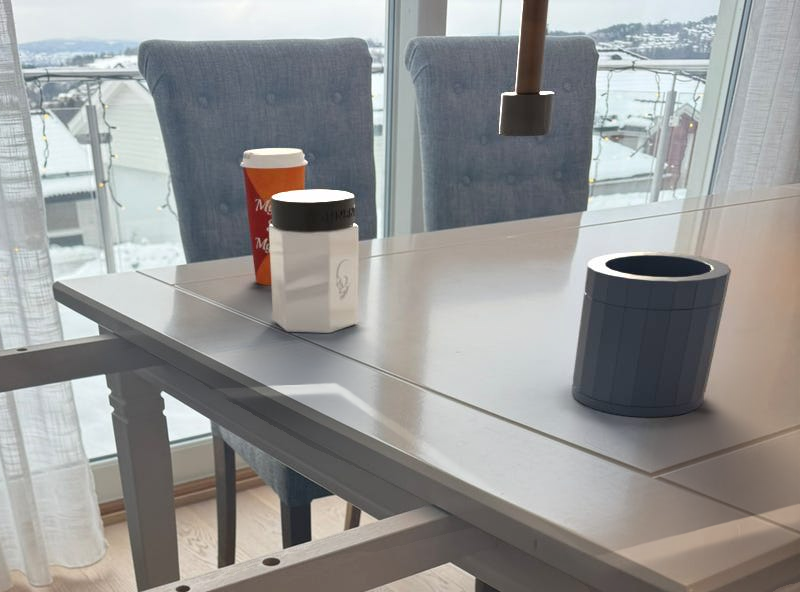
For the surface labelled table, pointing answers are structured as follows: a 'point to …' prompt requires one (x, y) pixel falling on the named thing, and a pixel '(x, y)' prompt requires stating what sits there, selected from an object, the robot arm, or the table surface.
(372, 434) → the table surface
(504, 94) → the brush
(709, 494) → the table surface
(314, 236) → the jar
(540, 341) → the table surface
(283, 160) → the paper cup
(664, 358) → the stoneware jar
